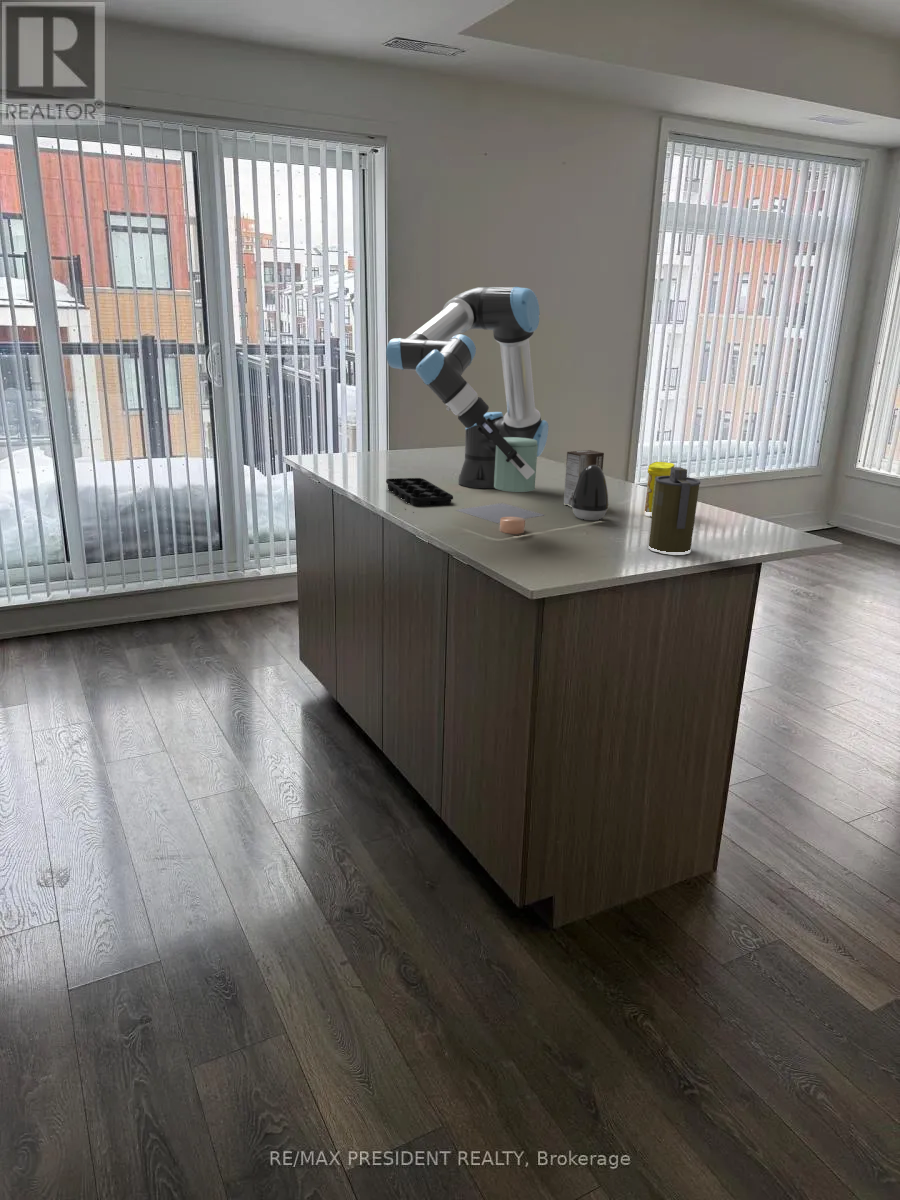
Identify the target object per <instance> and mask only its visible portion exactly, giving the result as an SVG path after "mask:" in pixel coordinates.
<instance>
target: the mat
mask: <svg viewBox="0 0 900 1200" xmlns="http://www.w3.org/2000/svg"><path fill="white" fill-rule="evenodd" d="M455 511H456V512H459V513H463V514H467V515H470V516H473V517H476V518H480V519H482V520H485V521H489V522H492V523H495V524H500V519H501V518H502V517H520V518H523V519H525V520H526V519H530V518H537V517H543V516H545V514H543V513H540V512H536V511H532V510H530V509H529V510H528V509H525V508H522V507H519V506H514V505H511V504H507V503H503V502H501V503H499V502H498V503H493V504H492V503H491V504H487V505H485V504H484V505H479V506H471V507H466V508H458V509H455Z"/></svg>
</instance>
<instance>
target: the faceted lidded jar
mask: <svg viewBox="0 0 900 1200" xmlns="http://www.w3.org/2000/svg"><path fill="white" fill-rule="evenodd" d="M504 439H505V440H506V441H507V442H508V443H509V445H510V446H511V447H512V448H513V449H514V450H516V451H517V453H518V454H519V455H520V456H521V457H522V458H523V459H524V460H525V461H526V463H527V464H528V465H529V466H530V467H531V468H532V469H533V470H534V471H535V473H534V474H533V475H532V476H530V477H529V478H528V479H526V478H525V477H524V476H523V475H522V474H521V473H520V472H519V470H518V469H517V468H516V467H515V466H514V465H513V464H512V463H511V462H510V461H509V462H507V461H506V459H507V456H506V455H505V454H504V453H503V452H502V451H501V450H500V449H499V448H498V446H497V445H496V455H495V474H494V487H495V488H494V489H496V490H499V491H503V492H512V493H526V492H532V491H534V490H535V489H536V476H537V463H538V462H537V461H538V457H537V449H538V445H537V440H534V439H529V438H519V437H504ZM511 451H512V450H511ZM511 451H510V452H511ZM510 452H509V453H510ZM509 453H508V454H509Z"/></svg>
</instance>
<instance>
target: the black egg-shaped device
mask: <svg viewBox="0 0 900 1200" xmlns="http://www.w3.org/2000/svg"><path fill="white" fill-rule="evenodd" d="M603 471H604V470H603ZM603 471H602V470H601V468H600V467H598V466H597V465H589V466H587V467H586V468H585V469H584V470H583V471H582V473H581V475H580V476H579V479H578V481H577V484H576V487H575V490H574V493H573V497H572V502H571V506H572V508H571V509H572V512H573V514H574V516H575V518H577V519H579V520H583V519H584V520H585V521H599V519H600V520H602V518H604V517H605V514H607V511H608V509H609V505H610V504H609V501H610V500H609V492H608V491H609V489H608V485H607V484H608V483H607V479H606V477H605V474H604V472H603Z"/></svg>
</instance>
